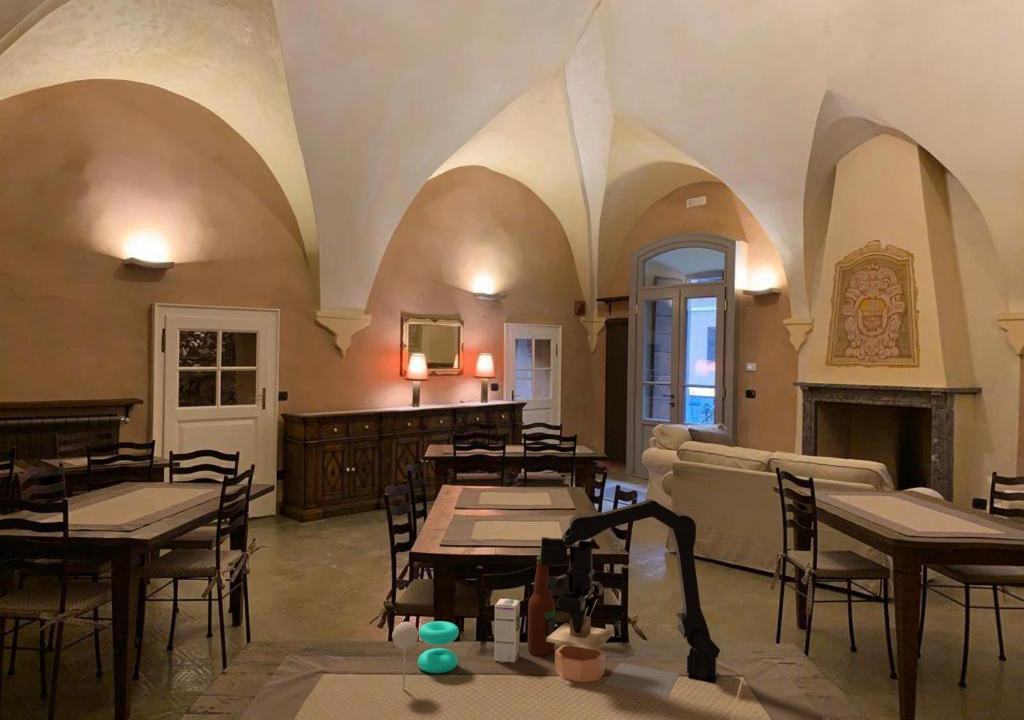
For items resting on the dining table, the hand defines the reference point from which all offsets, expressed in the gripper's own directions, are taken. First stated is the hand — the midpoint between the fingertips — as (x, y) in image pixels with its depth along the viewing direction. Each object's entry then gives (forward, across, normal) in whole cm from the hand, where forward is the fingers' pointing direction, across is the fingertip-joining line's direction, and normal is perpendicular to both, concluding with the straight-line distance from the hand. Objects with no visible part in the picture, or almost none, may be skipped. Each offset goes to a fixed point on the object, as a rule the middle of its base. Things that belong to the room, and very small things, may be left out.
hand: (580, 630), depth 157 cm
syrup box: (+10, 0, -20) cm, 23 cm away
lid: (+2, 0, 0) cm, 2 cm away
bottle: (+10, -9, -14) cm, 20 cm away
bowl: (+10, 0, 0) cm, 10 cm away
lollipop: (+10, +28, -33) cm, 45 cm away
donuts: (+10, +13, -33) cm, 37 cm away
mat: (+10, -3, +15) cm, 18 cm away
